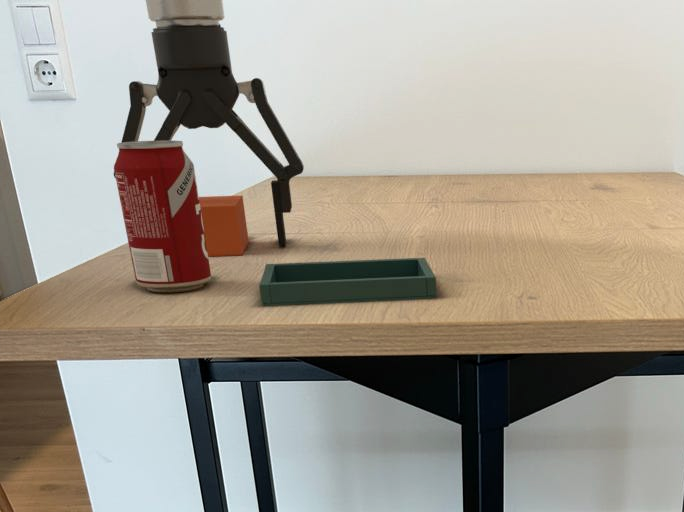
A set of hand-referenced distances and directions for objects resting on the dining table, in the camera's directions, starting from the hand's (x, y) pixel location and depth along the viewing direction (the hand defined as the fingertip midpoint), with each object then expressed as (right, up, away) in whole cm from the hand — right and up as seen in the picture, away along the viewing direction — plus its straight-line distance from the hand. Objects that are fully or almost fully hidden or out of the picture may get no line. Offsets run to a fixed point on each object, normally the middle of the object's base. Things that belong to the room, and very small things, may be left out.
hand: (222, 247), depth 107 cm
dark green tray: (+18, -14, -24) cm, 33 cm away
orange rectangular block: (0, 0, 0) cm, 0 cm away
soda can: (+1, -12, -19) cm, 23 cm away
